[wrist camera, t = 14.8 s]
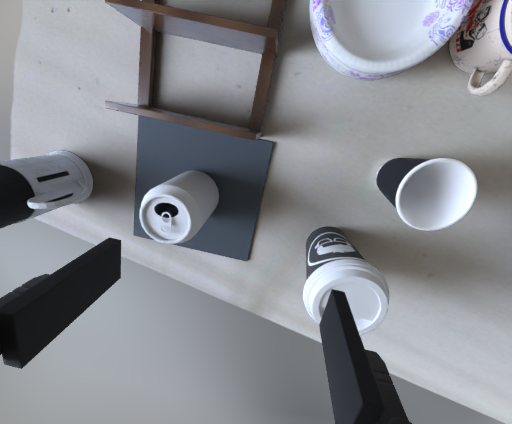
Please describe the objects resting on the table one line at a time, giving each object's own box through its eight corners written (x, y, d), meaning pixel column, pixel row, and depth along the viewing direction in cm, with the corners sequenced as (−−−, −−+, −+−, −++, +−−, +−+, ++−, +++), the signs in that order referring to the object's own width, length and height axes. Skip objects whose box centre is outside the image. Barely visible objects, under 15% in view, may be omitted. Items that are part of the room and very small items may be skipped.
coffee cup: (284, 248, 43) (286, 311, 29) (324, 205, 40) (347, 252, 26) (328, 280, 44) (350, 355, 30) (369, 241, 41) (416, 304, 27)
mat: (273, 142, 37) (273, 142, 37) (247, 260, 44) (247, 261, 44) (140, 112, 38) (138, 112, 37) (134, 234, 44) (133, 235, 44)
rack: (298, -50, 30) (304, -108, 22) (260, 137, 37) (255, 141, 30) (148, -81, 30) (105, -149, 23) (140, 110, 38) (104, 107, 30)
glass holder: (35, 149, 41) (-94, 163, 27) (121, 153, 40) (33, 169, 26) (48, 201, 44) (-62, 239, 30) (128, 206, 43) (53, 248, 29)
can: (220, 170, 39) (195, 190, 28) (220, 216, 41) (198, 252, 30) (172, 167, 39) (128, 186, 28) (175, 213, 42) (136, 247, 31)
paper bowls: (287, -21, 31) (289, -66, 23) (419, -98, 28) (471, -179, 20) (328, 104, 35) (341, 99, 27) (448, 50, 32) (500, 27, 24)
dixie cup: (424, 143, 35) (483, 152, 25) (421, 198, 38) (474, 227, 28) (364, 152, 37) (397, 164, 26) (365, 205, 39) (395, 234, 29)
